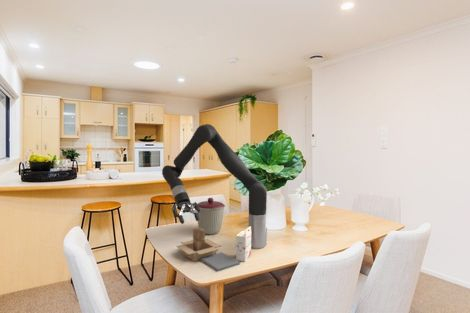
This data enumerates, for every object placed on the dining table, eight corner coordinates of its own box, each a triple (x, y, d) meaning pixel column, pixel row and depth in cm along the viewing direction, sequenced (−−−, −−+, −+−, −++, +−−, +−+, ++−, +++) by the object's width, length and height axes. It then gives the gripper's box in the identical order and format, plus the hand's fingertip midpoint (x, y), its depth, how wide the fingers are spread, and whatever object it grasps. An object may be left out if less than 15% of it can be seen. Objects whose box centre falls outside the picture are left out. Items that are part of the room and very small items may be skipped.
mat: (221, 254, 134) (221, 252, 134) (239, 264, 123) (239, 262, 123) (200, 260, 126) (200, 257, 126) (217, 271, 115) (217, 269, 115)
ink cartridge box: (241, 253, 135) (242, 224, 134) (251, 255, 133) (251, 225, 132) (235, 260, 127) (235, 229, 126) (245, 262, 125) (246, 230, 124)
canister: (188, 233, 163) (189, 198, 162) (205, 225, 179) (206, 194, 178) (214, 239, 155) (215, 202, 154) (230, 230, 171) (230, 197, 170)
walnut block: (200, 251, 136) (200, 227, 135) (204, 254, 133) (204, 230, 132) (193, 253, 133) (193, 229, 133) (197, 256, 130) (197, 231, 130)
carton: (204, 244, 146) (204, 237, 146) (224, 255, 132) (224, 247, 132) (173, 252, 135) (173, 244, 134) (191, 265, 120) (191, 256, 120)
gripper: (170, 192, 141) (180, 219, 132) (194, 190, 150) (205, 215, 141) (166, 201, 145) (175, 227, 137) (189, 198, 154) (200, 223, 146)
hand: (190, 221), depth 139 cm, fingers open, 8 cm apart
